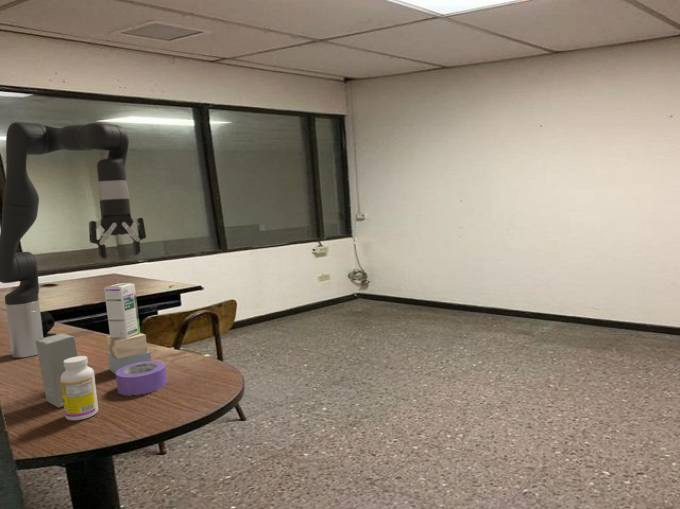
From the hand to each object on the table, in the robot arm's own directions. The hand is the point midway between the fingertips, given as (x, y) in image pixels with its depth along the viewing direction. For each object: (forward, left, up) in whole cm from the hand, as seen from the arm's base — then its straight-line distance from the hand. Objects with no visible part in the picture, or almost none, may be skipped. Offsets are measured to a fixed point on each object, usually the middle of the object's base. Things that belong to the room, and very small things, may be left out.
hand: (120, 256), depth 143 cm
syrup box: (0, -1, -22) cm, 22 cm away
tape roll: (+18, -3, -32) cm, 37 cm away
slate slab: (0, -1, -32) cm, 32 cm away
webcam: (-62, -11, -32) cm, 71 cm away
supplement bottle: (+26, -19, -32) cm, 46 cm away
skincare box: (+13, -20, -32) cm, 40 cm away
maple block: (0, -1, -27) cm, 27 cm away
